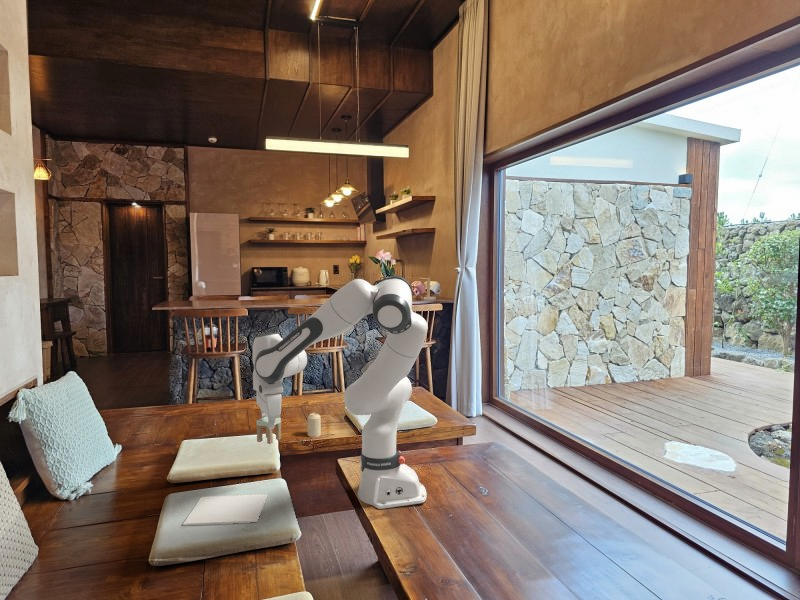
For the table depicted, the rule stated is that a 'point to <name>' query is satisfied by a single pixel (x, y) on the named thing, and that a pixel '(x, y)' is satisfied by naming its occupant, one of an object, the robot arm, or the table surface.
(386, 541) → the table surface
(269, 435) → the wooden stool
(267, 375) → the robot arm
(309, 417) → the candle
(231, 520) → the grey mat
